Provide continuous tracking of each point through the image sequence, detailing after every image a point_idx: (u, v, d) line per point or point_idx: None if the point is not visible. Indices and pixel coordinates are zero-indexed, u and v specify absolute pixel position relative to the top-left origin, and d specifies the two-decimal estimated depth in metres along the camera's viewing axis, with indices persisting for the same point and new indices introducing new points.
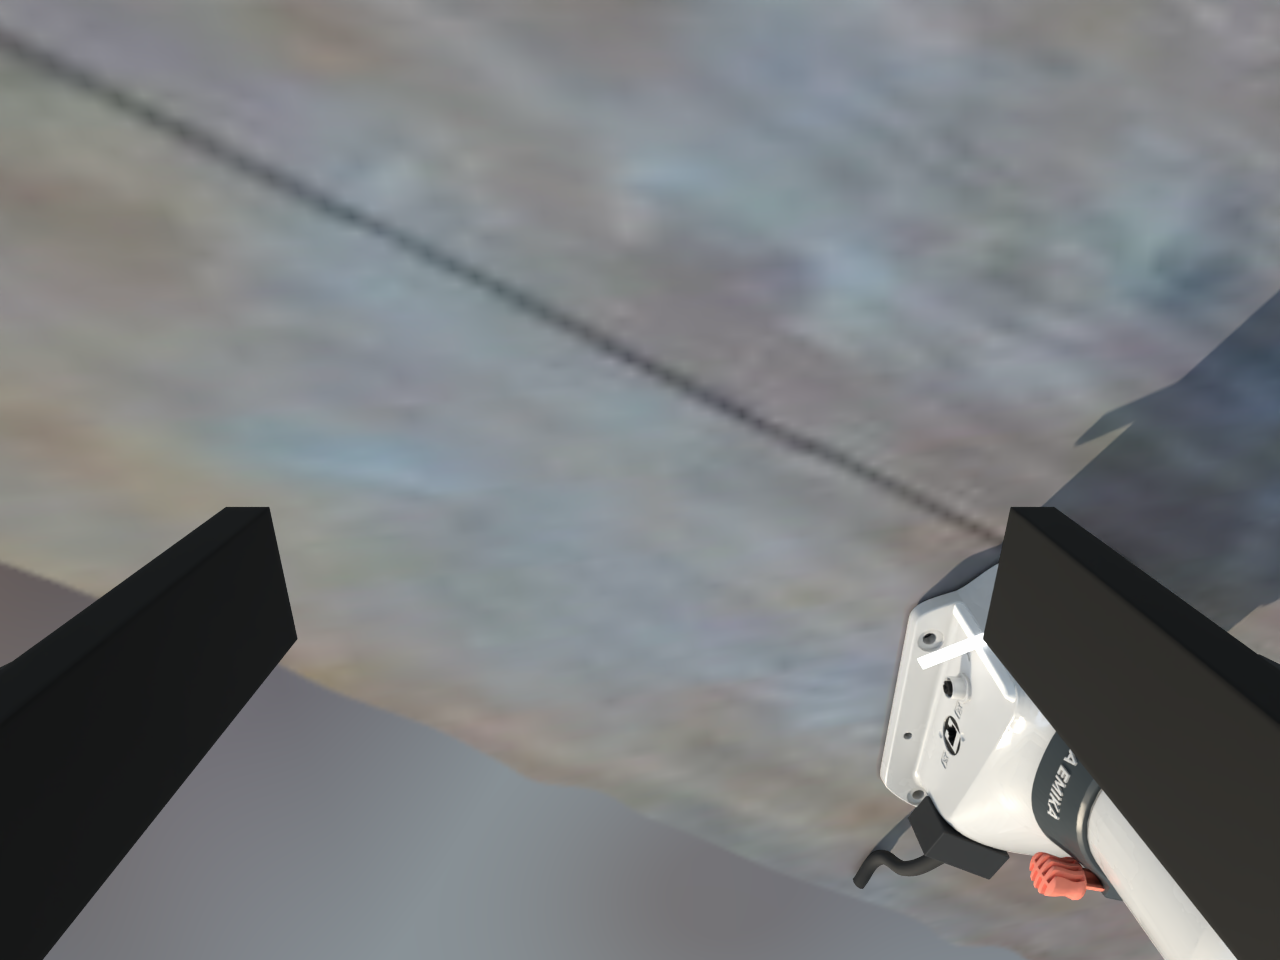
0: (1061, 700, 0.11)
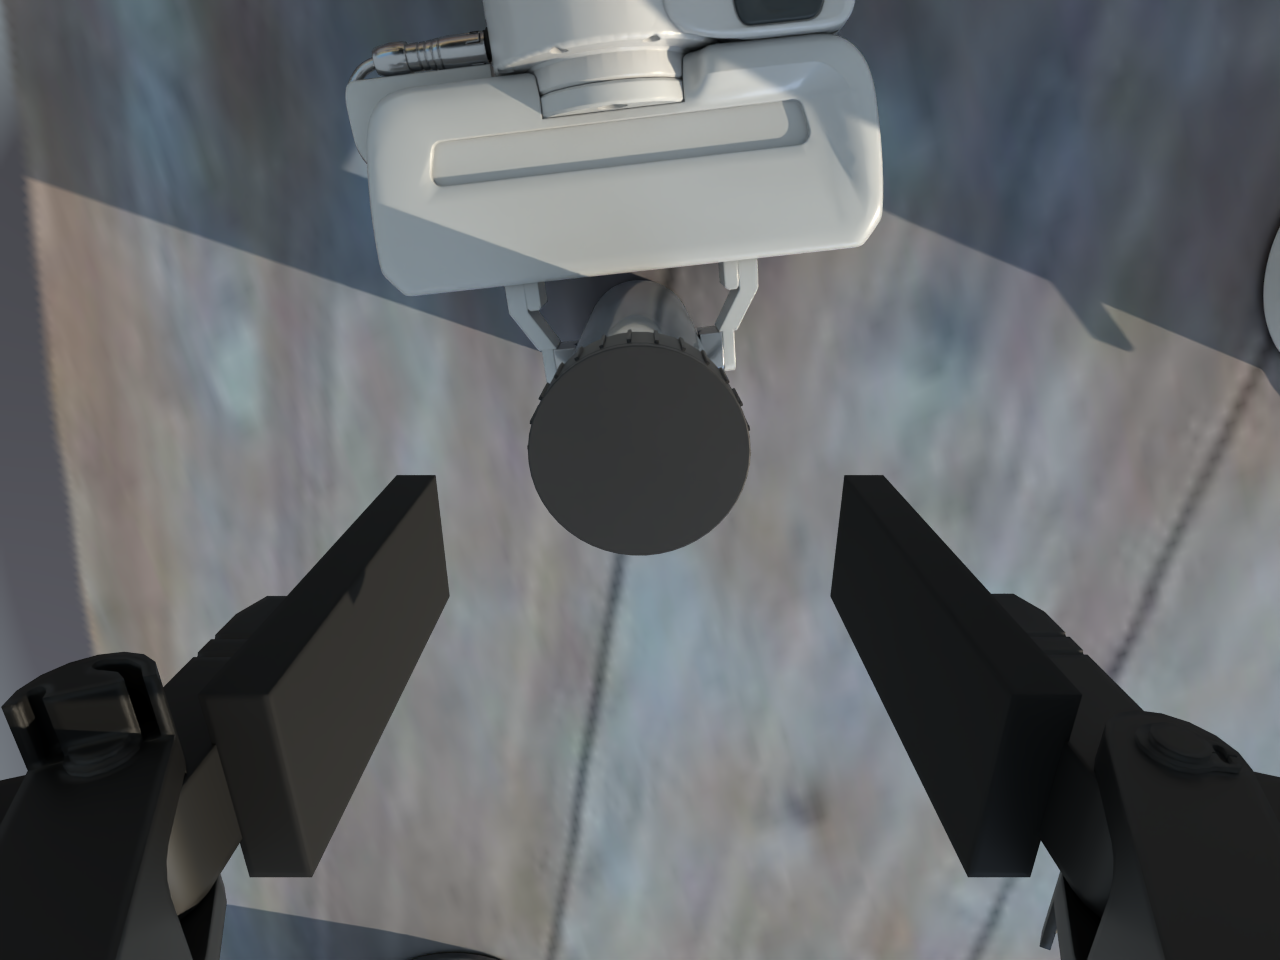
0: (869, 641, 0.12)
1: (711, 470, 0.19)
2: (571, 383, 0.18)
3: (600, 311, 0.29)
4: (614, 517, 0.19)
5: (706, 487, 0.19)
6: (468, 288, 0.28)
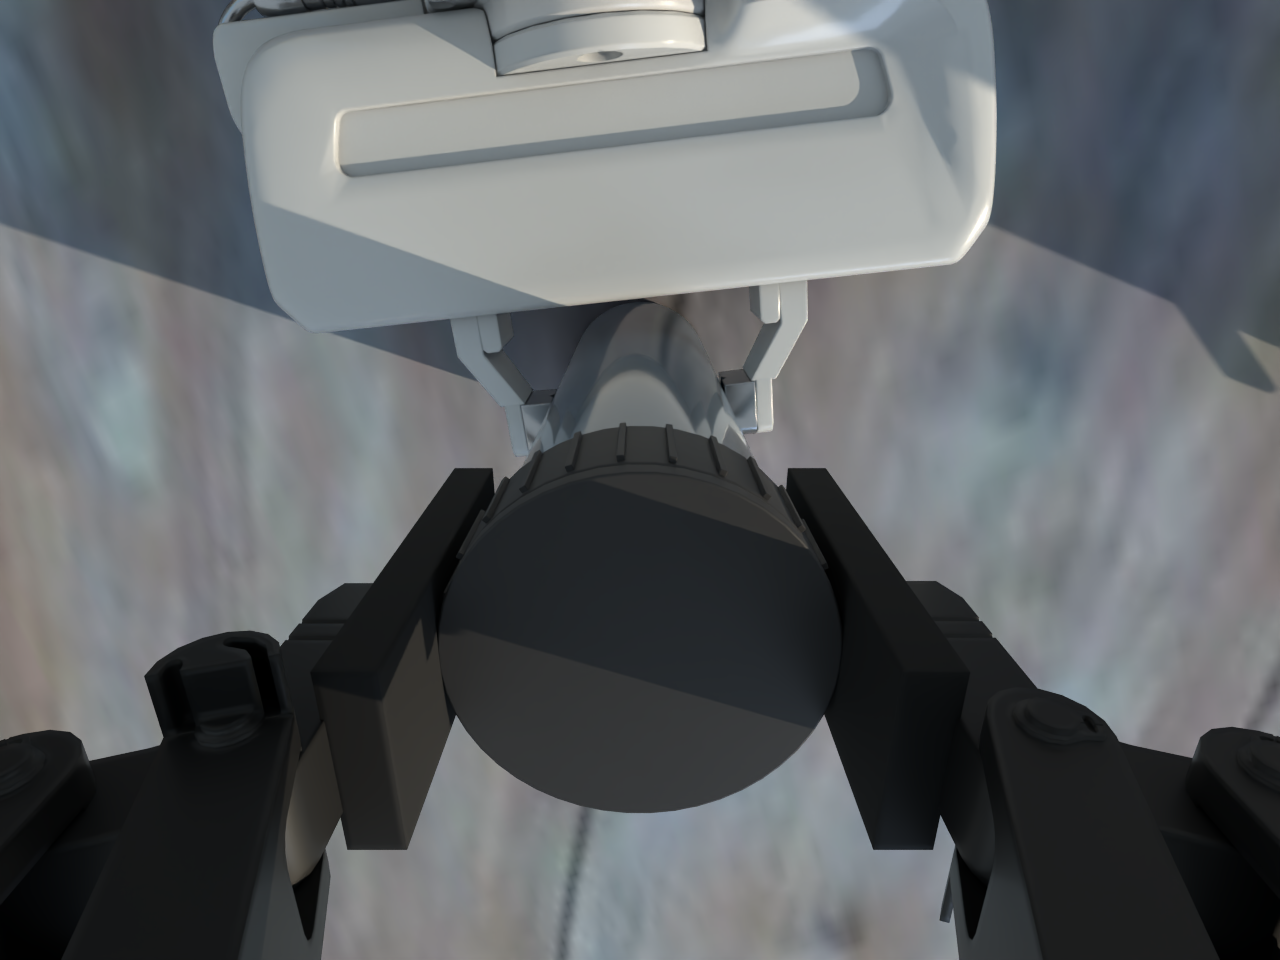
0: None
1: (770, 683, 0.10)
2: (512, 539, 0.09)
3: (585, 354, 0.20)
4: (595, 756, 0.11)
5: (760, 710, 0.10)
6: (397, 322, 0.20)
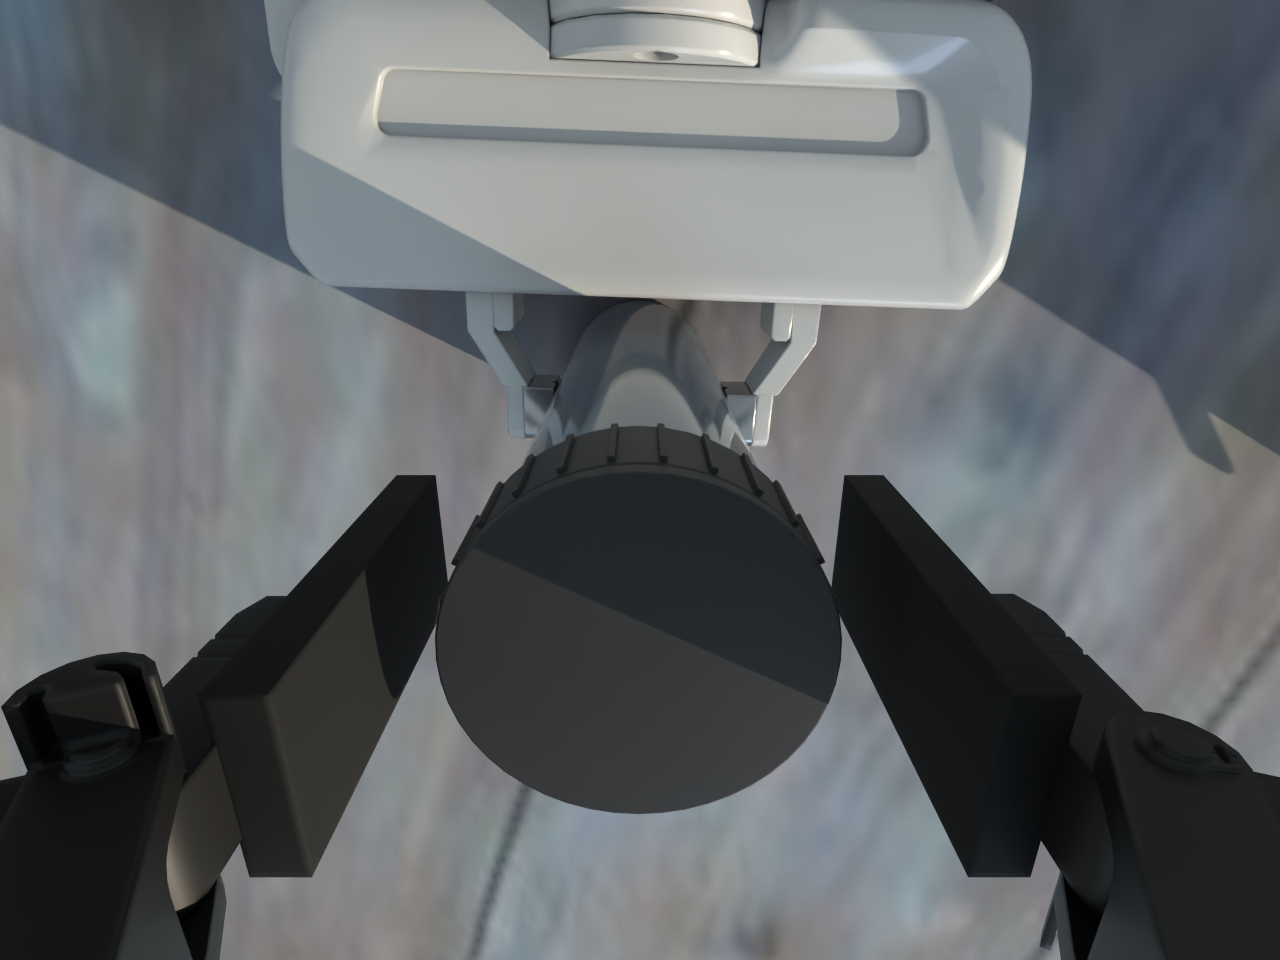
0: (869, 641, 0.12)
1: (710, 557, 0.10)
2: (477, 717, 0.10)
3: (595, 345, 0.21)
4: (734, 728, 0.11)
5: (740, 575, 0.10)
6: (412, 287, 0.20)
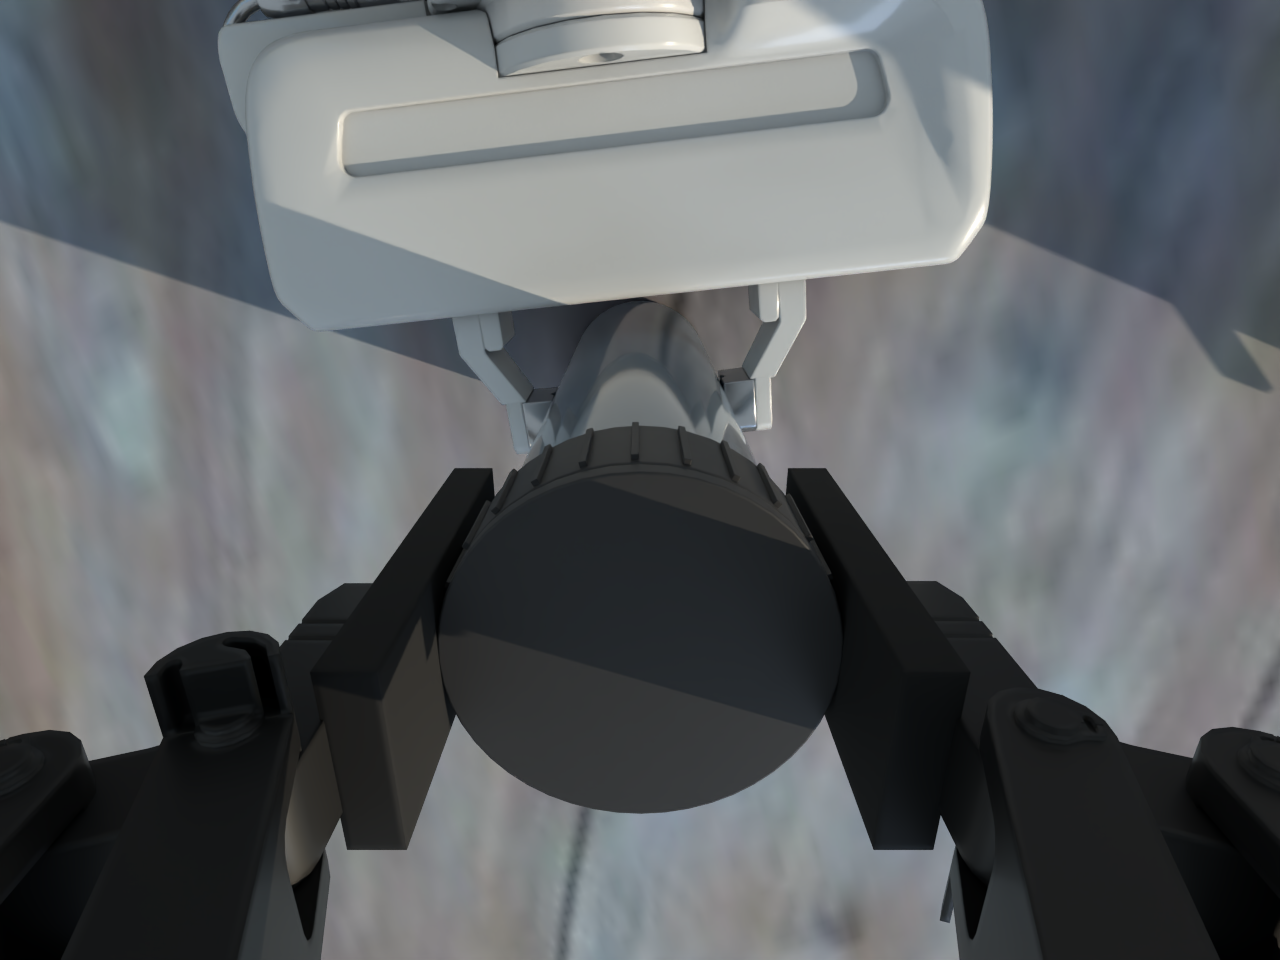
0: None
1: (694, 549, 0.09)
2: (492, 734, 0.11)
3: (585, 352, 0.21)
4: (746, 717, 0.10)
5: (727, 563, 0.10)
6: (399, 321, 0.20)
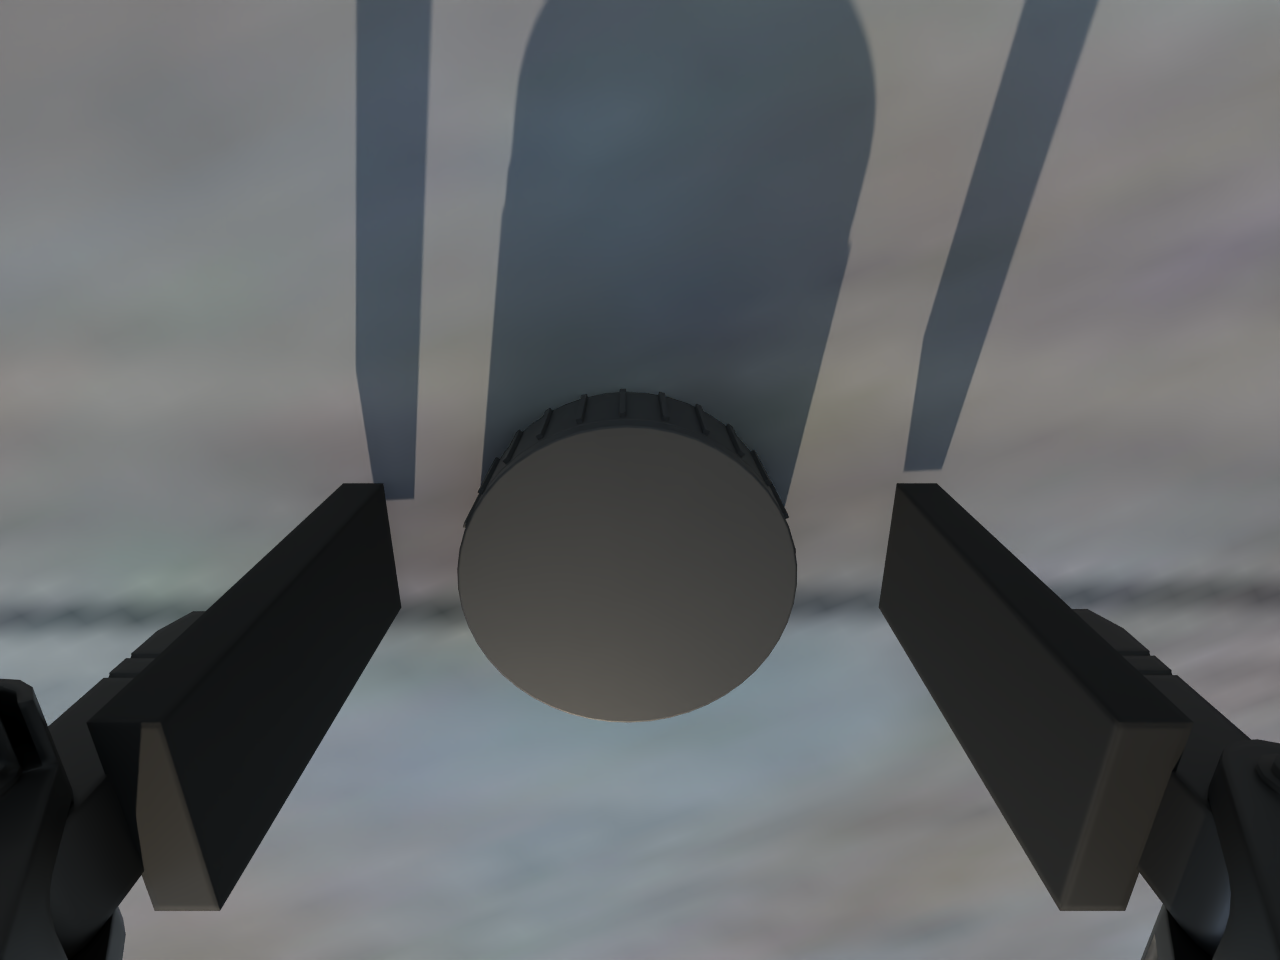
0: (928, 656, 0.12)
1: (672, 490, 0.11)
2: (503, 652, 0.13)
3: None
4: (717, 635, 0.12)
5: (699, 502, 0.12)
6: None
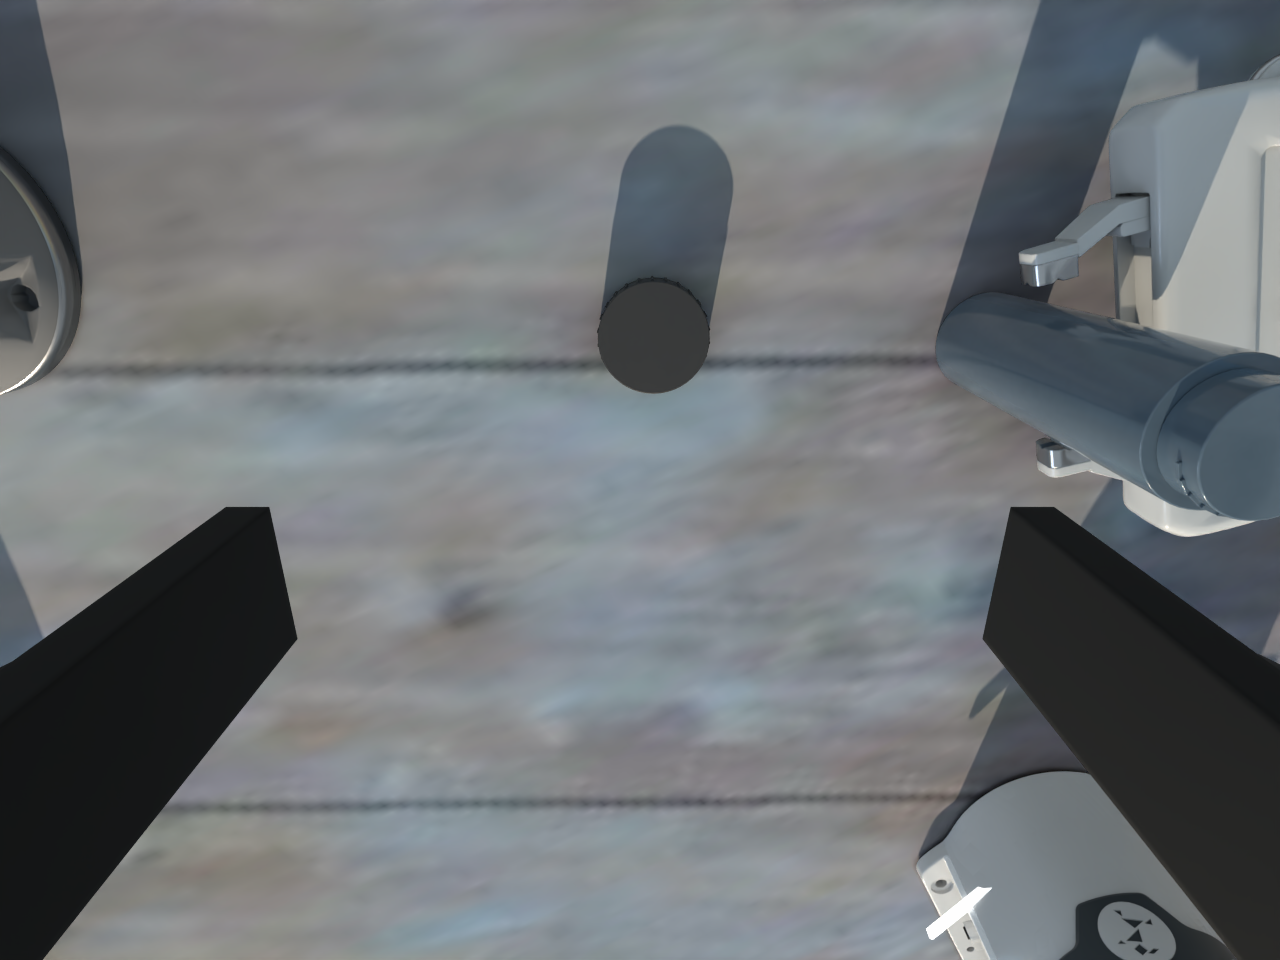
0: (1061, 700, 0.11)
1: (668, 303, 0.36)
2: (611, 364, 0.37)
3: None
4: (683, 357, 0.37)
5: (676, 307, 0.36)
6: (1158, 193, 0.29)
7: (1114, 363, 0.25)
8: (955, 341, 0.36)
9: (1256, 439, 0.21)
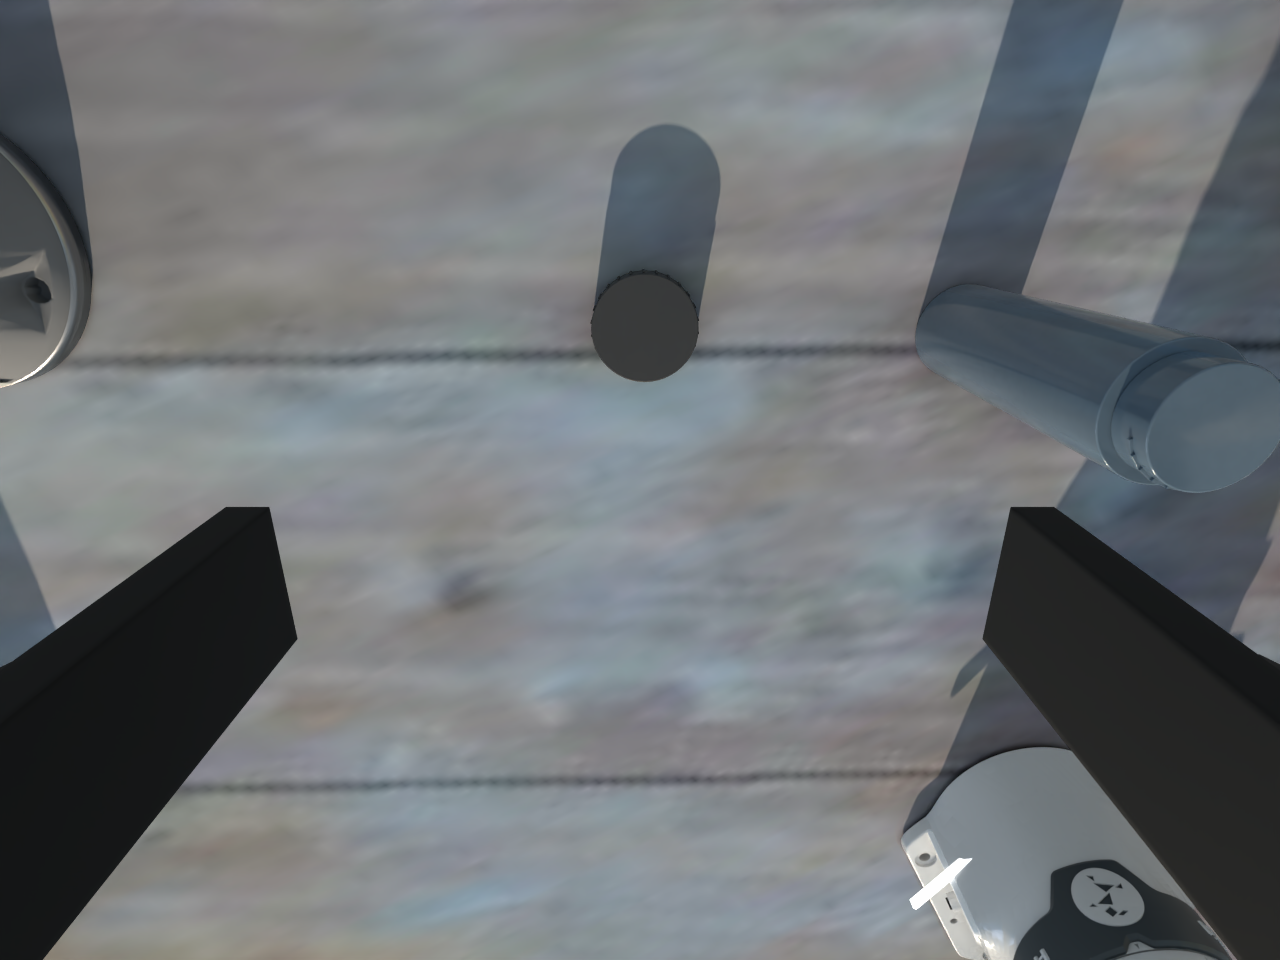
0: (1060, 700, 0.11)
1: (658, 295, 0.38)
2: (604, 353, 0.39)
3: None
4: (673, 347, 0.39)
5: (666, 299, 0.38)
6: None
7: (1075, 349, 0.27)
8: (933, 330, 0.38)
9: (1199, 416, 0.22)
